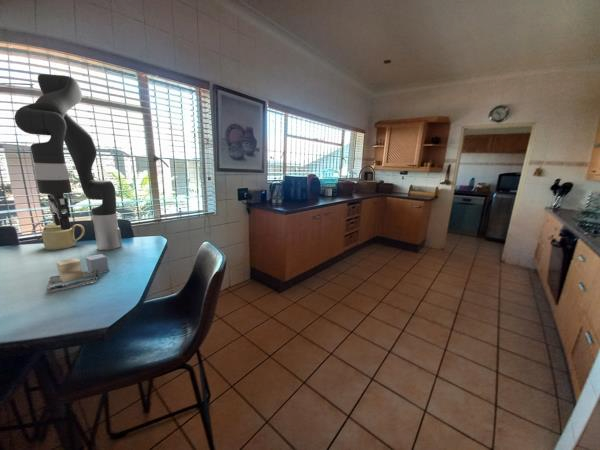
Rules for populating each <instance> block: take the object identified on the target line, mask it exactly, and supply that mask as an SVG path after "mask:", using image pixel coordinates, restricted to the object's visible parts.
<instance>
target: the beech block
mask: <svg viewBox="0 0 600 450" xmlns="http://www.w3.org/2000/svg"><path fill="white" fill-rule="evenodd" d="M55 263H56V267H57V272H58V276H59V278H60V279H61V280H62V281H61V282H63V283H65V282H69V281H72V280H76V279H79V278H80V279H81V278H84V277H83V274H82V271H83V270H82V264H81V260H80V259H78V258H77V257H71V258H66V259H62V260H57V261H55Z"/></svg>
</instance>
